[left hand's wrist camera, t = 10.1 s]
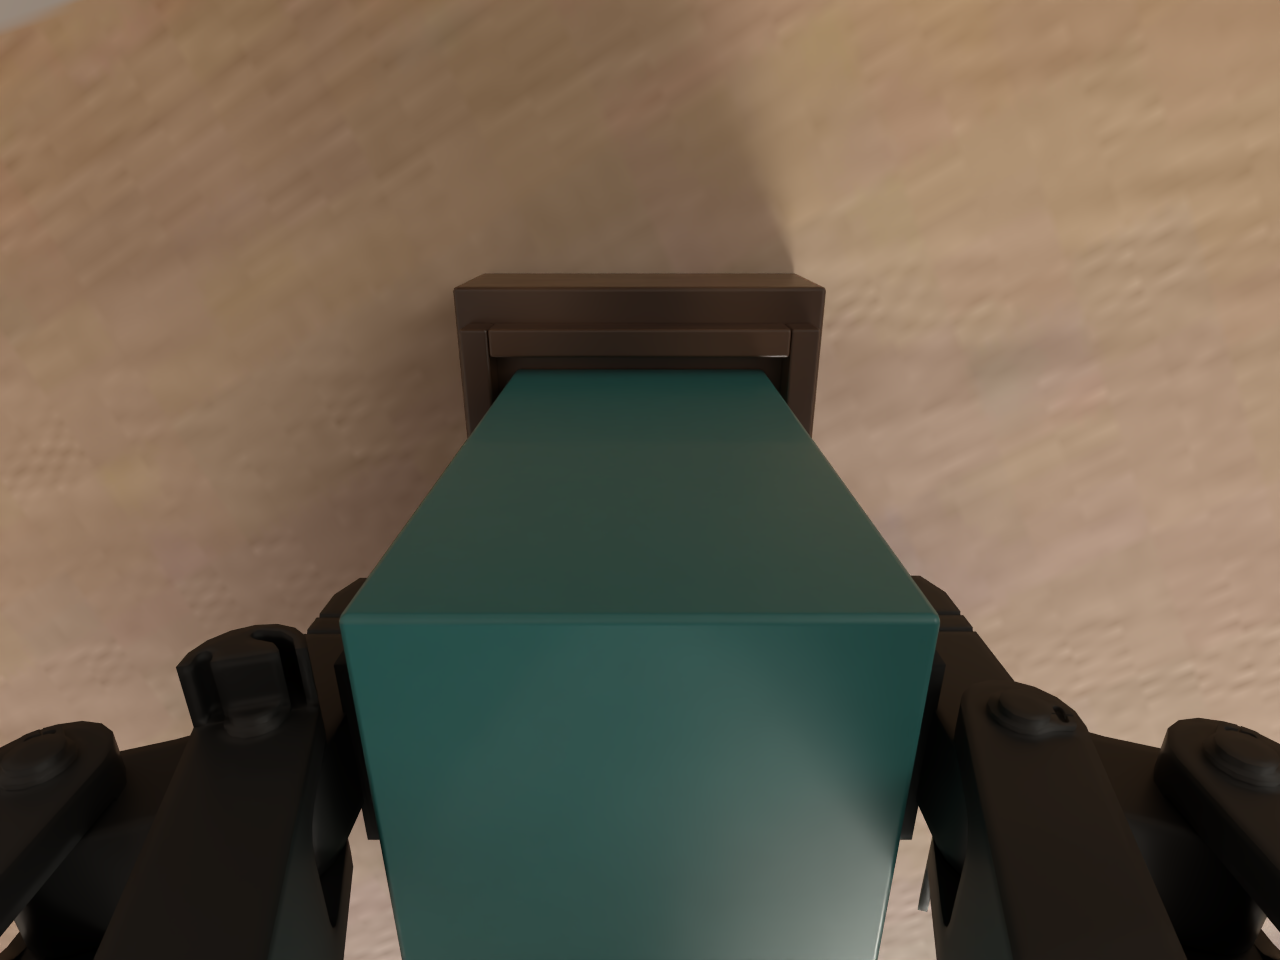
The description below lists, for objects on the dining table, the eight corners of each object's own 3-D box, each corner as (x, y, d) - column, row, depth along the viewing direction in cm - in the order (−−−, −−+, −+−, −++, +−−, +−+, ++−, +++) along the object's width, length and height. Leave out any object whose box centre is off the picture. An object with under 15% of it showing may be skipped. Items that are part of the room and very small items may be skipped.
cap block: (763, 368, 16) (944, 616, 6) (748, 584, 18) (871, 1012, 8) (516, 368, 16) (334, 617, 6) (530, 584, 18) (408, 1012, 8)
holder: (797, 273, 18) (972, 355, 8) (736, 1029, 29) (783, 1422, 20) (481, 273, 18) (307, 355, 8) (542, 1029, 29) (496, 1422, 20)
